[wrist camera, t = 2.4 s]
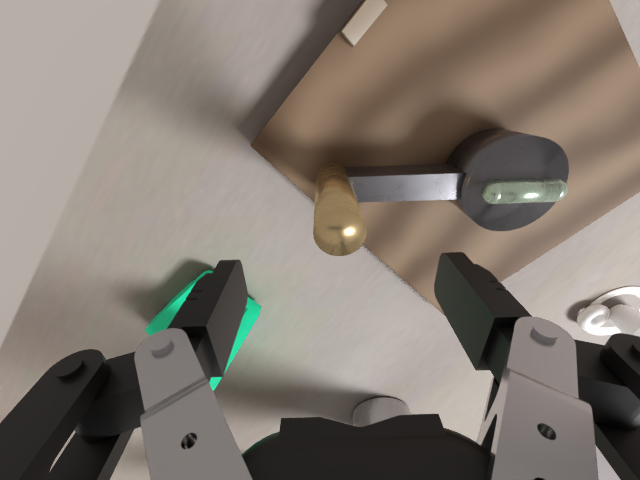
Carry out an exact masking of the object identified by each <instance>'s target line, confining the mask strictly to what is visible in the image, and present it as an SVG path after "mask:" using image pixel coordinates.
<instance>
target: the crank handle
mask: <svg viewBox="0 0 640 480" xmlns="http://www.w3.org/2000/svg"><path fill="white" fill-rule="evenodd" d="M568 174H569V163H568V159H567V156H566V154H565V152H564V150H563V149H562V148H561V146H559V145H558V144H557V143H556V142H554V141H552V140H550V139H548V138H544V137H540V136H535V135H530V134H525V133H521V132H516V131H511V130H506V129H501V128H492V129H486V130H482V131H480V132H477V133H475V134H473V135H471V136H469V137H468V138H466V139H465V140H464V141H462V142H461V143H460V144H459V145H458V146H457V147H456V148H455V149H454V151H453V152H452V153H451V155H450V156H449V158H448V160H447V162H446V164H420V165H391V166H362V167H344V166H342V165H341V164H338V163H328V164H325V165H324V166H322V167H321V168H320V169H319V171H318V173H317V176H316V191H315V211H314V230H313V235H314V240H315V242H316V244H317V246H318V247H319V248H320V249H321V250H322V251H324V252H325V253H327V254H330V255H334V256H344V255H348V254H351V253H353V252H355V251H356V250H358V249H359V248H360V247H361V246H362V244H363V243H364V241H365V238H366V234H367V229H366V225H365V222H364V219H363V216H362V213H361V210H360V207H359V204H358V203H361V202H392V201H422V200H450V201H451V202H452V203H453V204H454V205H455V206H456V207H458V208H459V209H460V210H461V211H462V212H464V213H465V214H466V215H467V216H468V217H469V218H471V219H472V220H473V221H474V222H475V223H476V224H478V225H479V226H481V227H483V228H485V229H488V230H491V231H510V230H515V229H518V228H522V227H524V226H526V225H528V224H530V223H532V222H534V221H536V220H537V219H539V218H540V217H541V216H543V215H544V214H545V213H546V212H547V211H548V210H550V209H551V207H552V206H553V205H554V204H555V203H556V202H557V201H559V200H561V199H562V198H564V197H565V195H566V194H567V192H568V186H567V184H566V183H567V180H568Z"/></svg>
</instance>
